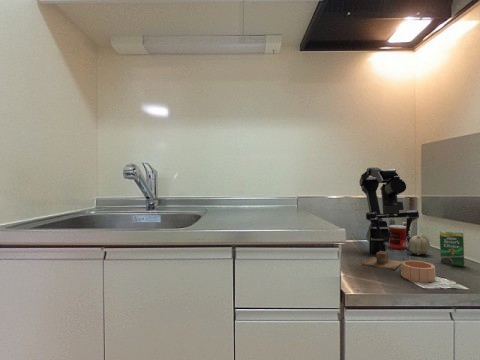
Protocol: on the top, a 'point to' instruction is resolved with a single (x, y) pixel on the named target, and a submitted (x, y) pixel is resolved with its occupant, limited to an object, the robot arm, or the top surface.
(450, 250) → the coffee box
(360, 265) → the mat
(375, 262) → the lid
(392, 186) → the robot arm
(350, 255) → the top surface
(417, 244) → the garlic bulb
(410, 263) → the bowl
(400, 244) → the canned food
